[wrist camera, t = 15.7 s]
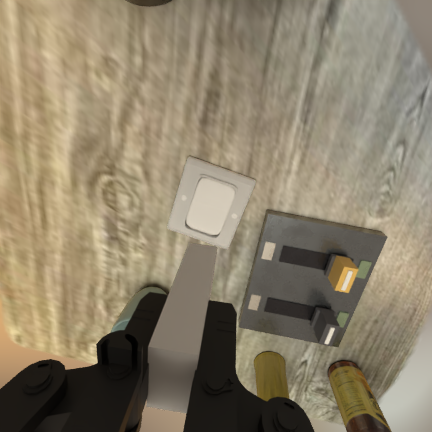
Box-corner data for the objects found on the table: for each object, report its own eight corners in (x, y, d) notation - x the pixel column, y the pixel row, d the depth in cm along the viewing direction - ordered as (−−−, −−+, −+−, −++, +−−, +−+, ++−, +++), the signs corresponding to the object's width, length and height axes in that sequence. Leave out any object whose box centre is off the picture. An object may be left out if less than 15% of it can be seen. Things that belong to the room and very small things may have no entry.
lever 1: (316, 305, 44) (324, 324, 40) (334, 309, 44) (343, 328, 40) (309, 324, 45) (316, 344, 41) (326, 328, 45) (335, 347, 41)
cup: (183, 305, 49) (170, 348, 40) (150, 320, 51) (130, 365, 42) (160, 273, 47) (140, 311, 38) (126, 290, 49) (100, 330, 40)
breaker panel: (266, 209, 41) (268, 214, 39) (380, 231, 41) (388, 237, 39) (238, 319, 49) (238, 328, 47) (334, 338, 49) (338, 348, 47)
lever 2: (331, 252, 40) (341, 266, 36) (350, 256, 40) (362, 270, 36) (323, 274, 42) (331, 290, 38) (341, 278, 42) (352, 294, 38)
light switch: (161, 236, 42) (183, 159, 36) (168, 225, 45) (189, 154, 40) (226, 259, 42) (257, 186, 37) (228, 246, 46) (256, 178, 41)
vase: (285, 351, 51) (302, 434, 38) (284, 375, 53) (299, 461, 40) (253, 350, 51) (258, 431, 38) (253, 373, 54) (258, 458, 40)
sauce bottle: (361, 380, 52) (429, 526, 33) (328, 383, 53) (376, 527, 34) (358, 355, 50) (430, 496, 31) (324, 359, 51) (373, 497, 32)
